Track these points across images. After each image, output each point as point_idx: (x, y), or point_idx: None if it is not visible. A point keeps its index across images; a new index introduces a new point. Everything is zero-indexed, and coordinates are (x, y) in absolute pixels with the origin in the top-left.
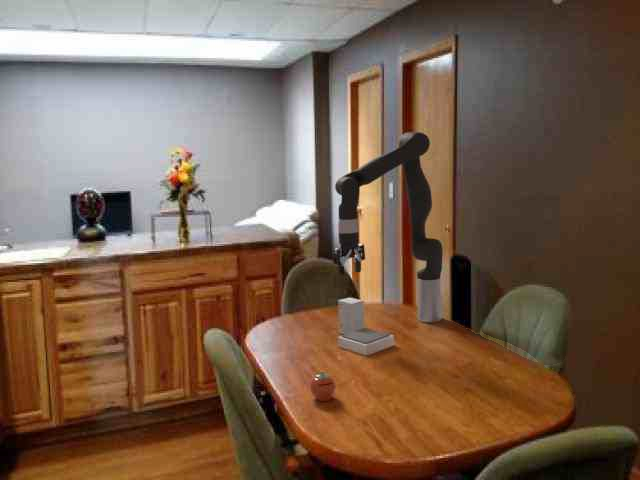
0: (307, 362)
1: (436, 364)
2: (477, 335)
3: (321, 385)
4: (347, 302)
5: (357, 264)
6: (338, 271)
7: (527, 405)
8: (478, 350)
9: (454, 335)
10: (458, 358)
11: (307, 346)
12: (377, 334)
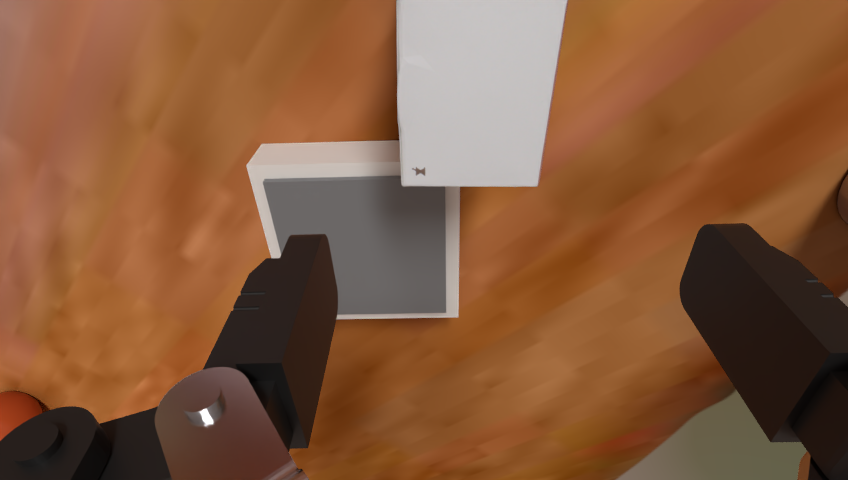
0: (48, 196)
1: (410, 437)
2: (723, 396)
3: (9, 404)
4: (405, 128)
5: (767, 368)
6: (240, 296)
7: None
8: (580, 448)
9: (689, 357)
10: (488, 446)
11: (117, 17)
12: (409, 281)
